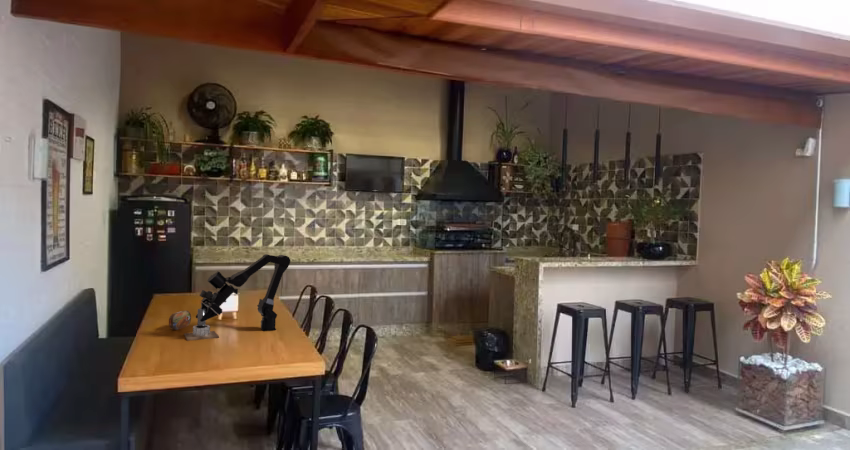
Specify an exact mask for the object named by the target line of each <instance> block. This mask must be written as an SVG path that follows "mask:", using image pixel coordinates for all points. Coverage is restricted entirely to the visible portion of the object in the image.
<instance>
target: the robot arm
mask: <svg viewBox="0 0 850 450" xmlns="http://www.w3.org/2000/svg"><path fill="white" fill-rule="evenodd" d="M269 263H270V264H274V265H273V266H274V271H273V274H272V276H271V279H270V282H269V285H268V288H267V290H266V293H265V295H264V297H262V298H259V301H258V304H257V305H256V307H257V312H258V313H259V314H260V315H261V320H260V330H262V331H264V332H265V331H268V332H269V331H276V330H277V328H276V319H277V317H278V314H277V313H276V312H275V311H274V304H275V303H274V301H275V297H276V294H277V291H278V288H279V286H280V282H281V280H282V278H283V275H284V273H285V272H286V270H288V268H289V266H290V265H291V258H290V257H289V256H288V255H284V254H279V255H271V254H267V253H266V254H263V255H262V256H261V257H260V258H258V259H257V260H255V261H254V262H253V263H252V264H250V265H249V266H247V267H246V268H245V269H243V270H240V271H238V272H236V273H234V274H232V275H231V276H227V277H225V276H224V275H223V274H222V273H221V272H220V271H216V272H215V273H213V274H211V275H210V276H209V277H208V279H207V282H208V283H209V284H210V285H211V286H213V288H214V289H215V290H216V289H219V290H217V292H213V291H210V290H203V289H201V292H200V294H199V297H201V298H202V299H201V300H200V305H201V306H200V308H199V309H202V308H203V309H206V313H205V314H204V316H203V317H202V318H201V320H200V321H201V322H203V321H205V320H206V321H207V320H209V319H212V318H215V317H217V316H220V315H221V314H222V313H223V309H222V305H223V304H225V303H226V302H227V299H228V298H230V296H231V295H233V293H234V295H238V294H239V293H238V290H239V288H241V287H242V286H244V284H245V283H247V281H248V280H249V278H250V277H252V275H254V274H255V273H257V272H259V270H261V269H262V268H263V267H265V266H266V265H268V264H269ZM235 287H236V288H235ZM237 287H238V288H237ZM195 318H196V319H198V312H197V313H196V315H195Z"/></svg>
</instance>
